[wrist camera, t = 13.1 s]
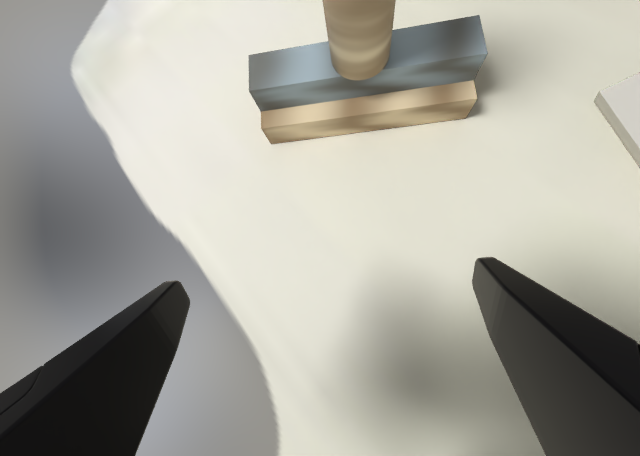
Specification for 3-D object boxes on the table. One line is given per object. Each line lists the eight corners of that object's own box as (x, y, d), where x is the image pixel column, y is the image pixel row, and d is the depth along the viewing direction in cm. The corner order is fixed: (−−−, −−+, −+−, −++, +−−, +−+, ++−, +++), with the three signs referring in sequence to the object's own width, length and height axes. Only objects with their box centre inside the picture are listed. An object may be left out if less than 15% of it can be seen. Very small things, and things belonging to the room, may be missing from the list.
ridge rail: (453, 54, 25) (475, -4, 20) (465, 118, 23) (492, 73, 19) (269, 83, 27) (248, 38, 22) (271, 143, 26) (249, 109, 21)
